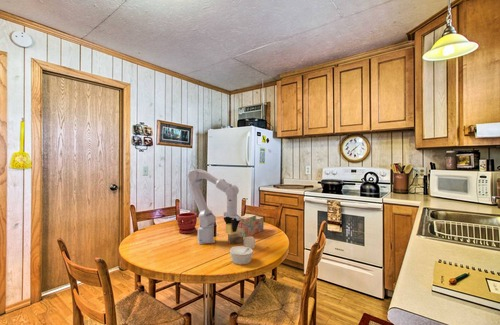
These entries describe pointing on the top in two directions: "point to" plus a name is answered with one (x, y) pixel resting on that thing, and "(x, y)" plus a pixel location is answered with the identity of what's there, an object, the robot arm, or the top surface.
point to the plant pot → (187, 222)
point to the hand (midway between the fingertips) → (231, 230)
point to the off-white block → (249, 242)
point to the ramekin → (241, 255)
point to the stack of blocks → (250, 225)
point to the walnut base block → (235, 238)
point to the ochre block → (230, 229)
